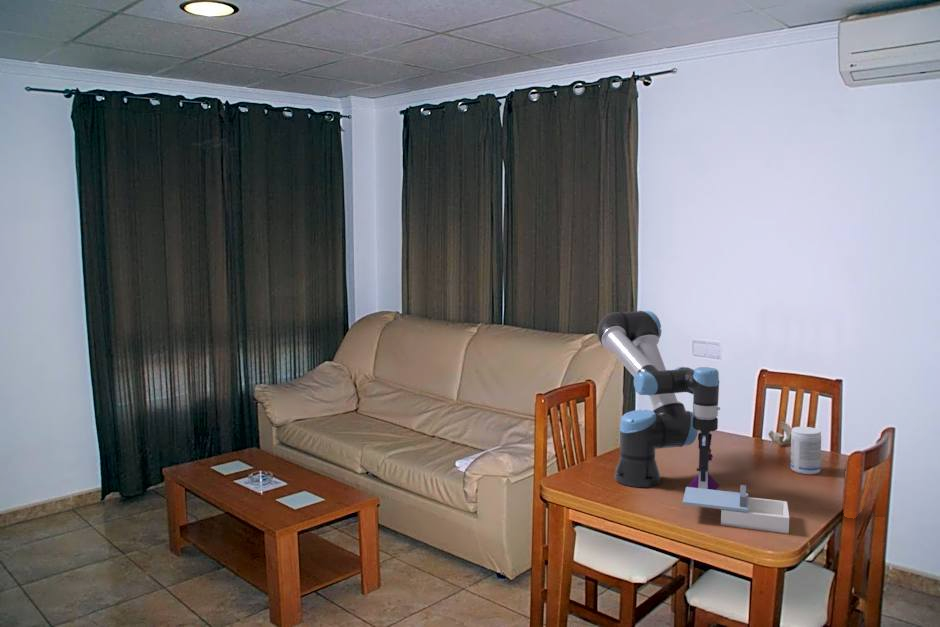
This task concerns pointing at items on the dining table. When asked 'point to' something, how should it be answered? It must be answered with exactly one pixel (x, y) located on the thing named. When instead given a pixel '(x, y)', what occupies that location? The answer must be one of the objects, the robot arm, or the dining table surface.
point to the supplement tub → (805, 450)
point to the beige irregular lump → (778, 437)
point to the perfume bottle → (711, 482)
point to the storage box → (759, 516)
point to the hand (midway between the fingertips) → (703, 485)
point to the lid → (717, 498)
